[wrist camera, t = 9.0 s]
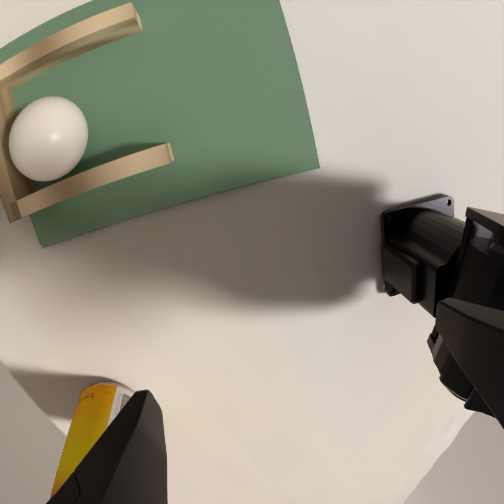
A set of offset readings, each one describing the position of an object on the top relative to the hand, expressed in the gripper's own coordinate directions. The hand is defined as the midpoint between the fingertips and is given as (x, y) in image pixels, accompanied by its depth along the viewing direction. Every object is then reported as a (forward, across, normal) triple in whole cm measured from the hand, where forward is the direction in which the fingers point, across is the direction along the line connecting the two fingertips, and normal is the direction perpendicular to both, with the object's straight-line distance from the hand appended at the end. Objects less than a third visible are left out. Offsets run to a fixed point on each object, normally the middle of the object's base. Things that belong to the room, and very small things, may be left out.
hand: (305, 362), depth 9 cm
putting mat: (+12, +4, -10) cm, 16 cm away
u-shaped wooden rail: (+12, +8, -10) cm, 18 cm away
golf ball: (+9, +9, -9) cm, 16 cm away
